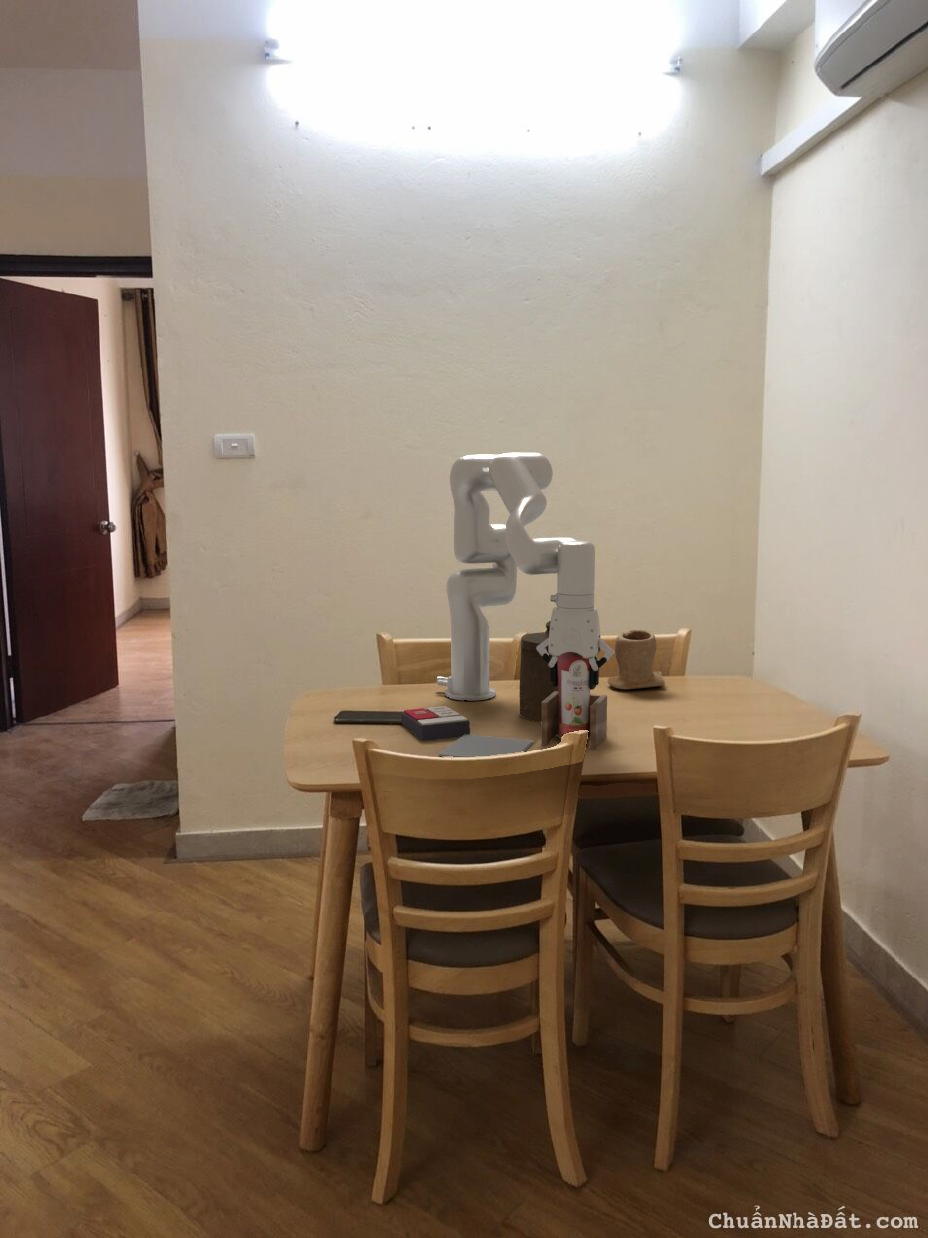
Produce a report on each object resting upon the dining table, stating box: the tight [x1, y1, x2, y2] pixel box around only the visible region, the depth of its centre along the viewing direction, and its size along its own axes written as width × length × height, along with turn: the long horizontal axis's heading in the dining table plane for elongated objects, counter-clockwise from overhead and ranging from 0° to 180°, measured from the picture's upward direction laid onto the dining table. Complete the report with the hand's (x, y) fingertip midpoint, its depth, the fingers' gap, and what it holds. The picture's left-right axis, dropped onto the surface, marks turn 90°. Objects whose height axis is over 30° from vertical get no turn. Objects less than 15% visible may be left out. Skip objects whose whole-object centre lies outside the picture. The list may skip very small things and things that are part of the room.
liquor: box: [556, 652, 591, 740], centre depth 199 cm, size 7×7×28 cm
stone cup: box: [606, 629, 666, 690], centre depth 246 cm, size 15×12×15 cm
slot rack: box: [540, 691, 608, 751], centre depth 201 cm, size 11×10×9 cm
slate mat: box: [438, 733, 534, 757], centre depth 195 cm, size 15×15×1 cm
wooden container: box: [519, 620, 558, 723], centre depth 220 cm, size 15×15×22 cm
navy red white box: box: [400, 705, 471, 742], centre depth 210 cm, size 11×4×15 cm
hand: (574, 686), depth 199 cm, fingers closed on liquor, 7 cm apart
